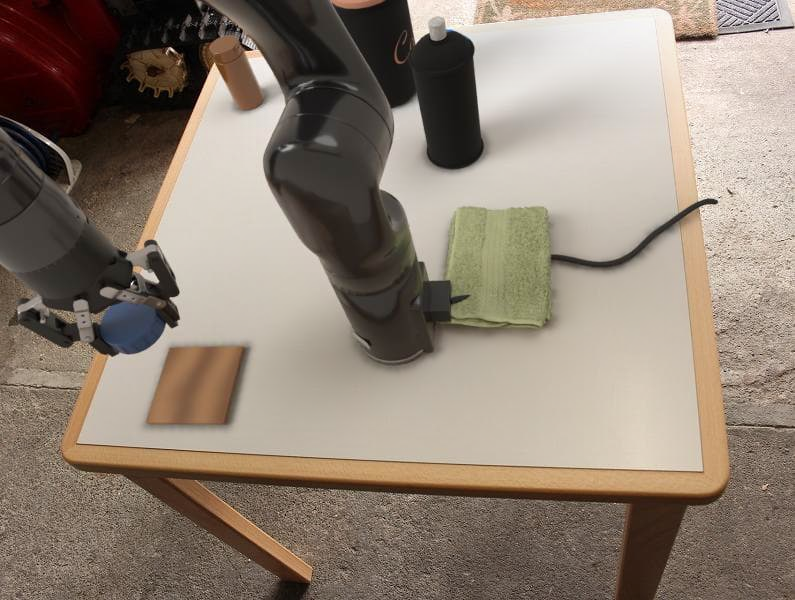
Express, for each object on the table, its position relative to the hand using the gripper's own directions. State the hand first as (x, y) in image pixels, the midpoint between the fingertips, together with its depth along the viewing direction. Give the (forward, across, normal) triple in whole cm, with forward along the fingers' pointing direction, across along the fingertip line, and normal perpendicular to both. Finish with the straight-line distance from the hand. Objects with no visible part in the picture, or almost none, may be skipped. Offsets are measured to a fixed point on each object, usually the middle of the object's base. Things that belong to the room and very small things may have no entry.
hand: (144, 334), depth 64 cm
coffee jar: (+12, +42, +36) cm, 57 cm away
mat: (+12, 0, 0) cm, 12 cm away
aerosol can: (+12, +44, +17) cm, 49 cm away
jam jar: (+12, +22, +48) cm, 54 cm away
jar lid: (-3, 0, 0) cm, 3 cm away
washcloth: (+12, +39, -5) cm, 41 cm away
